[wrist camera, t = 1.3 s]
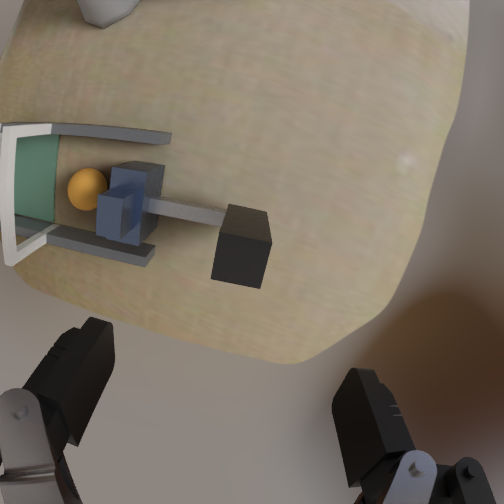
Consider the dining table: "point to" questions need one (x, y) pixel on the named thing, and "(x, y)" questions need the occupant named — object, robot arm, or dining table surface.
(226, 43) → the dining table surface
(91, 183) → the ball
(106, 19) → the flask
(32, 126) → the pitch
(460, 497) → the robot arm
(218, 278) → the striker
